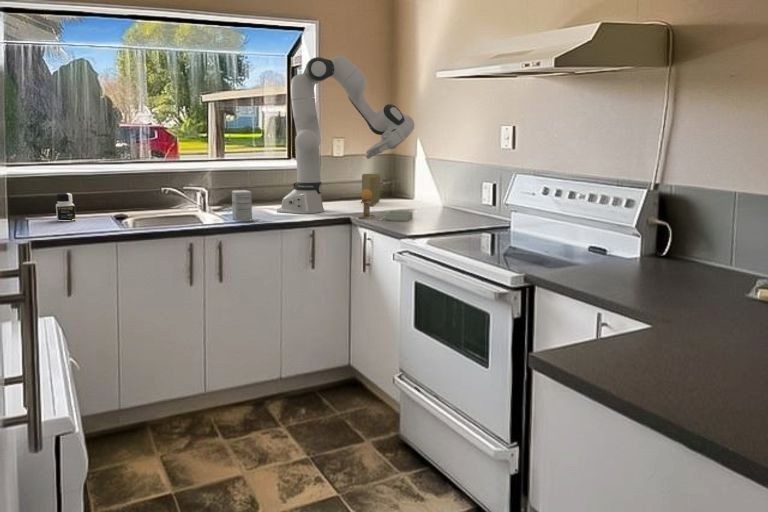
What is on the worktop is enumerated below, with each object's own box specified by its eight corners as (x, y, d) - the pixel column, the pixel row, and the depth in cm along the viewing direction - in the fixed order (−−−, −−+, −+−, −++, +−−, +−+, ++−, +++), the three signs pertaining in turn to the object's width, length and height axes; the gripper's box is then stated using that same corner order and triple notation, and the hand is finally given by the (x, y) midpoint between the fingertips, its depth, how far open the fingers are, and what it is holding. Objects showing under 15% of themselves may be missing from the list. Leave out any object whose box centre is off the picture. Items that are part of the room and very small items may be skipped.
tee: (358, 218, 334) (358, 199, 332) (362, 216, 339) (361, 198, 338) (371, 219, 332) (371, 200, 331) (374, 217, 338) (374, 198, 336)
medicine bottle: (58, 222, 320) (55, 194, 317) (56, 220, 326) (54, 192, 324) (76, 221, 323) (73, 193, 321) (74, 219, 329) (72, 192, 327)
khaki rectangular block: (380, 206, 374) (381, 177, 371) (361, 206, 374) (361, 177, 371) (380, 201, 396) (380, 173, 393) (361, 201, 396) (361, 173, 393)
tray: (384, 220, 328) (384, 213, 328) (390, 217, 338) (390, 210, 337) (407, 221, 326) (407, 214, 325) (412, 218, 336) (412, 211, 335)
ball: (359, 200, 333) (359, 189, 332) (362, 199, 337) (362, 188, 336) (370, 201, 331) (370, 189, 330) (373, 199, 336) (373, 188, 335)
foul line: (377, 220, 328) (377, 220, 328) (384, 216, 340) (384, 216, 340) (379, 220, 327) (379, 220, 327) (386, 216, 340) (386, 216, 340)
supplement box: (232, 218, 332) (231, 190, 330) (248, 217, 335) (247, 189, 332) (235, 221, 325) (234, 192, 323) (252, 220, 328) (251, 191, 326)
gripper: (374, 140, 356) (356, 155, 349) (400, 127, 340) (382, 142, 332) (381, 151, 358) (364, 166, 350) (407, 138, 342) (390, 153, 334)
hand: (373, 154), depth 341 cm, fingers open, 8 cm apart
